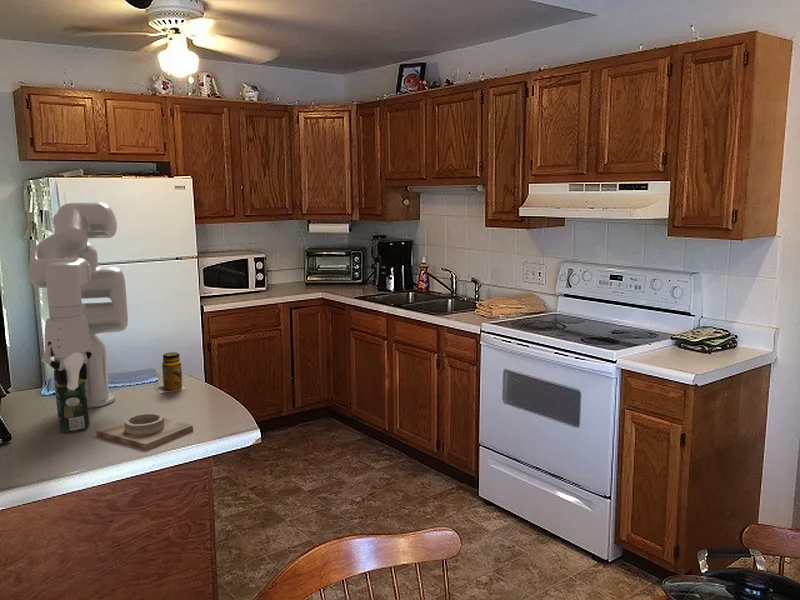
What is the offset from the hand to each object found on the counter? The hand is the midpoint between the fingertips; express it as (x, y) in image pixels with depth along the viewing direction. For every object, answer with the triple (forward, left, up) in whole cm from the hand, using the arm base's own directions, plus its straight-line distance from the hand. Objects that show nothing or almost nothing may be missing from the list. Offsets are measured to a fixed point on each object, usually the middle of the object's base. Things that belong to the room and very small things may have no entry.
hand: (72, 380), depth 171 cm
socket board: (+5, +17, -19) cm, 26 cm away
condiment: (-21, +49, -19) cm, 56 cm away
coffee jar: (-16, +10, -19) cm, 26 cm away
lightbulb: (0, 0, -3) cm, 3 cm away
